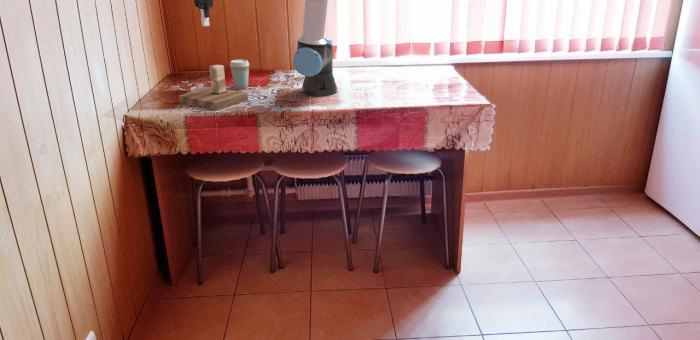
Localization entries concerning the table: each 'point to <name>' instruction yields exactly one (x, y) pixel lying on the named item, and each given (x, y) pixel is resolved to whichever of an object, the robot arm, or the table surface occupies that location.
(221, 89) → the peg
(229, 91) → the board
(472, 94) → the table surface
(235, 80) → the coffee cup
